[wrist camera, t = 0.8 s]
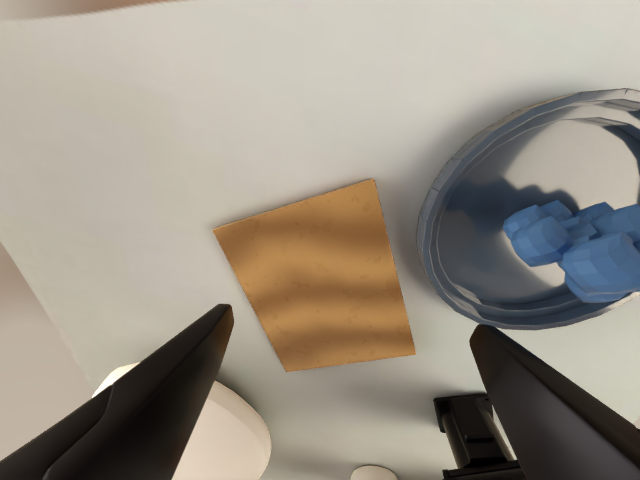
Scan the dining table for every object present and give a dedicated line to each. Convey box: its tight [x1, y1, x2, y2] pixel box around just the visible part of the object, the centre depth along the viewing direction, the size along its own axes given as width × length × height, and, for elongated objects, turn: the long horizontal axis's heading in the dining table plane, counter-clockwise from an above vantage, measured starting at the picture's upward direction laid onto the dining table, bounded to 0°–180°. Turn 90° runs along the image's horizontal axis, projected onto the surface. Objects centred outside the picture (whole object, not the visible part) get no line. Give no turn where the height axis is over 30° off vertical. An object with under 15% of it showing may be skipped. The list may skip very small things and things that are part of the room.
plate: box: [92, 362, 271, 480], centre depth 34 cm, size 28×6×27 cm
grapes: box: [503, 200, 640, 303], centre depth 14 cm, size 12×7×12 cm, turn 90°
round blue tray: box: [416, 88, 640, 330], centre depth 19 cm, size 19×19×2 cm
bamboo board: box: [212, 178, 416, 372], centre depth 24 cm, size 20×16×1 cm
